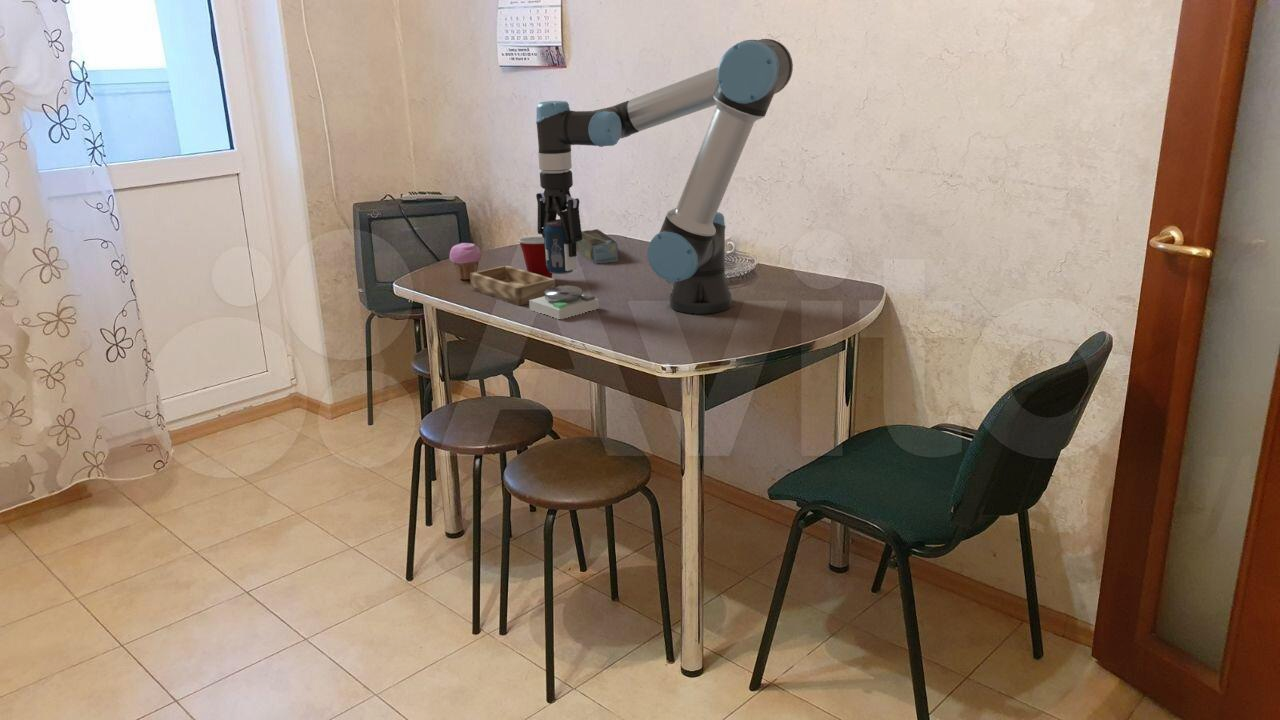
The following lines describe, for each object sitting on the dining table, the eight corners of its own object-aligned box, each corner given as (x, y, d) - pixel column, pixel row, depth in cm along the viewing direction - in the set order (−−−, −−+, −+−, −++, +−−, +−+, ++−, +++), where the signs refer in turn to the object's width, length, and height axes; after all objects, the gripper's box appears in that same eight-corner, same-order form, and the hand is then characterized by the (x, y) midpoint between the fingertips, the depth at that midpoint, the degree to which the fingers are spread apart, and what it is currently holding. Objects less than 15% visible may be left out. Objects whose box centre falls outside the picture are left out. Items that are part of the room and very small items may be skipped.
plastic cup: (564, 275, 258) (561, 233, 254) (557, 286, 248) (554, 242, 244) (525, 276, 259) (522, 233, 255) (517, 286, 249) (513, 242, 245)
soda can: (570, 266, 229) (568, 217, 225) (579, 272, 223) (577, 222, 219) (543, 269, 227) (540, 220, 223) (551, 276, 221) (548, 225, 216)
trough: (555, 296, 239) (554, 279, 238) (518, 305, 232) (517, 288, 231) (507, 281, 255) (506, 265, 253) (471, 289, 248) (469, 273, 246)
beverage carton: (592, 265, 270) (591, 242, 267) (574, 251, 287) (573, 230, 284) (619, 262, 272) (618, 240, 270) (599, 248, 289) (598, 227, 287)
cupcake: (483, 281, 256) (480, 245, 252) (451, 283, 254) (447, 247, 251) (483, 273, 264) (480, 238, 260) (452, 275, 263) (448, 240, 259)
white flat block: (598, 309, 228) (598, 296, 226) (559, 320, 220) (558, 306, 219) (568, 299, 236) (567, 287, 235) (529, 310, 229) (528, 297, 227)
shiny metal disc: (589, 296, 227) (589, 290, 226) (559, 304, 221) (559, 298, 220) (566, 289, 233) (566, 283, 232) (537, 296, 227) (537, 291, 227)
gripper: (595, 172, 212) (599, 271, 220) (543, 164, 226) (549, 257, 234) (569, 176, 207) (574, 277, 215) (517, 168, 221) (524, 262, 229)
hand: (561, 266), depth 224 cm, fingers closed on soda can, 7 cm apart
